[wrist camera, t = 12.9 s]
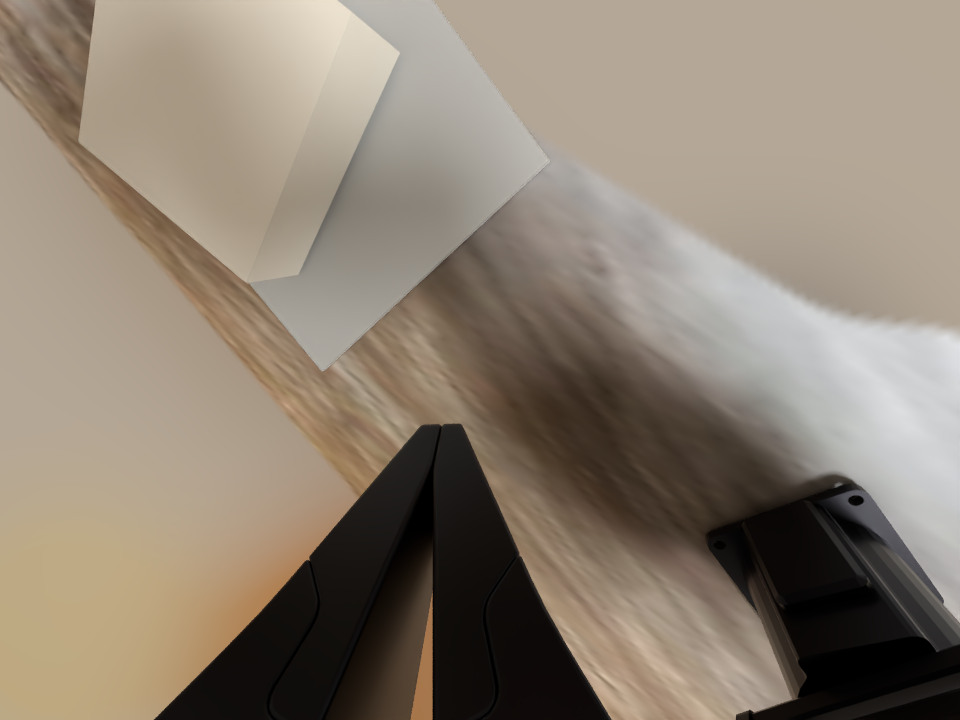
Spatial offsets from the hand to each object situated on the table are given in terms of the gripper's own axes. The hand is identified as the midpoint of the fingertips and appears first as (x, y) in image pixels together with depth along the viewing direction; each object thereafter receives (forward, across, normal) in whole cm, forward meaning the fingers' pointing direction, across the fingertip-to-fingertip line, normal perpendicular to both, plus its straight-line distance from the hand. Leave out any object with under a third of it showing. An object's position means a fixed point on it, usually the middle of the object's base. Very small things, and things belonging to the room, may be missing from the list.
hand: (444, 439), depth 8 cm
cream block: (+12, +6, -4) cm, 14 cm away
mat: (+15, +8, -6) cm, 18 cm away
